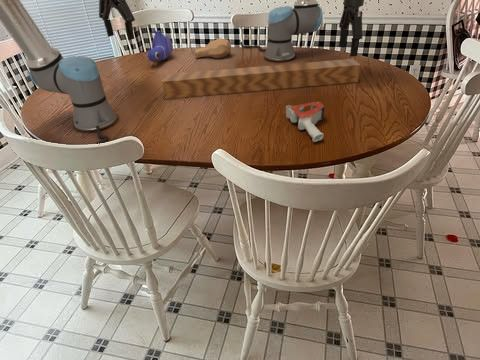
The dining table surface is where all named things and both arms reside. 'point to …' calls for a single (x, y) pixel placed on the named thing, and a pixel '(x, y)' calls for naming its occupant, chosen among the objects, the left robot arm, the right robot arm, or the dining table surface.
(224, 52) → the squash
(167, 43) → the toy
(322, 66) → the thick board
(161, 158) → the dining table surface
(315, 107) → the tape dispenser
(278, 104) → the dining table surface
